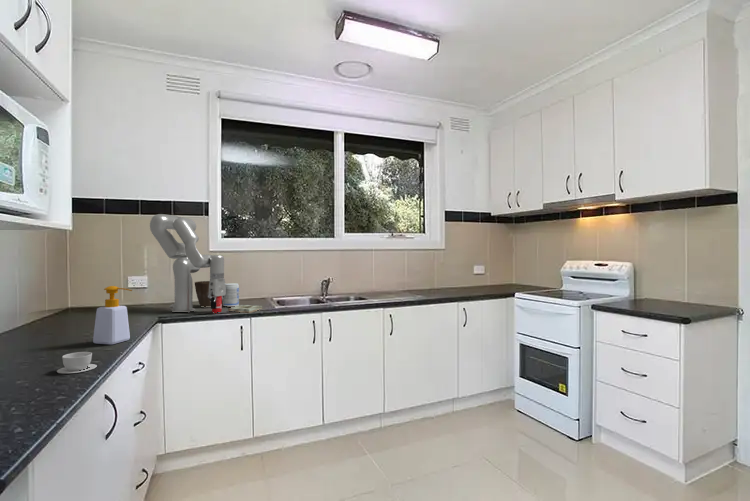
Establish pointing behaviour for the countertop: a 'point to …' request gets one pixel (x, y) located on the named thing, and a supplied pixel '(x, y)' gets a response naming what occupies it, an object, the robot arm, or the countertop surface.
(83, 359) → the teacup
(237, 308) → the base plate
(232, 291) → the supplement tub
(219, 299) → the beverage can
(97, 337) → the soap bottle
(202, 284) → the plant pot
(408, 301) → the countertop surface
